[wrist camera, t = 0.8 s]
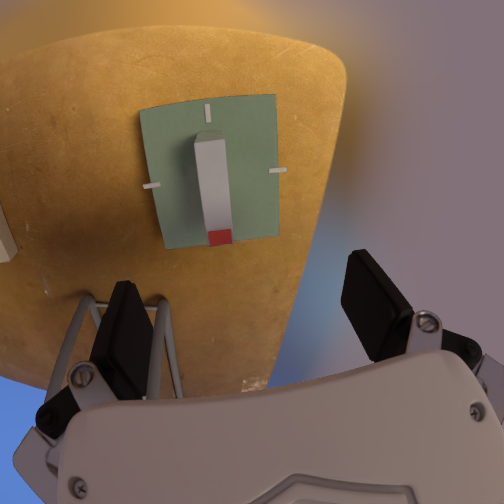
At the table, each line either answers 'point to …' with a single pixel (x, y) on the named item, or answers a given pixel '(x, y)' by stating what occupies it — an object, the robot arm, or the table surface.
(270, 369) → the table surface
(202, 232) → the panel
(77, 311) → the newton's cradle
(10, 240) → the button block
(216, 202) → the tap handle
